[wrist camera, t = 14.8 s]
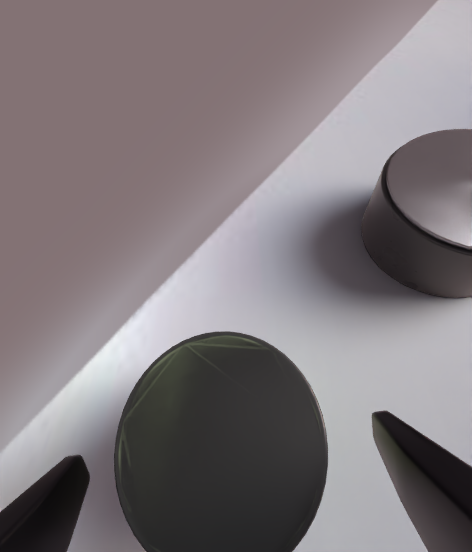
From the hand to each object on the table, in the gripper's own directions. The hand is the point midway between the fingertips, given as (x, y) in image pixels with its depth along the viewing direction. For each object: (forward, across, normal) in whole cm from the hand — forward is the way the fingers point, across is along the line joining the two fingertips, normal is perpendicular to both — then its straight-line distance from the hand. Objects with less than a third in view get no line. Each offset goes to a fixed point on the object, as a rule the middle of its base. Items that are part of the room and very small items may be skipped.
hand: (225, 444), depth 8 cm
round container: (+12, -14, -2) cm, 18 cm away
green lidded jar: (+5, 0, +4) cm, 6 cm away
